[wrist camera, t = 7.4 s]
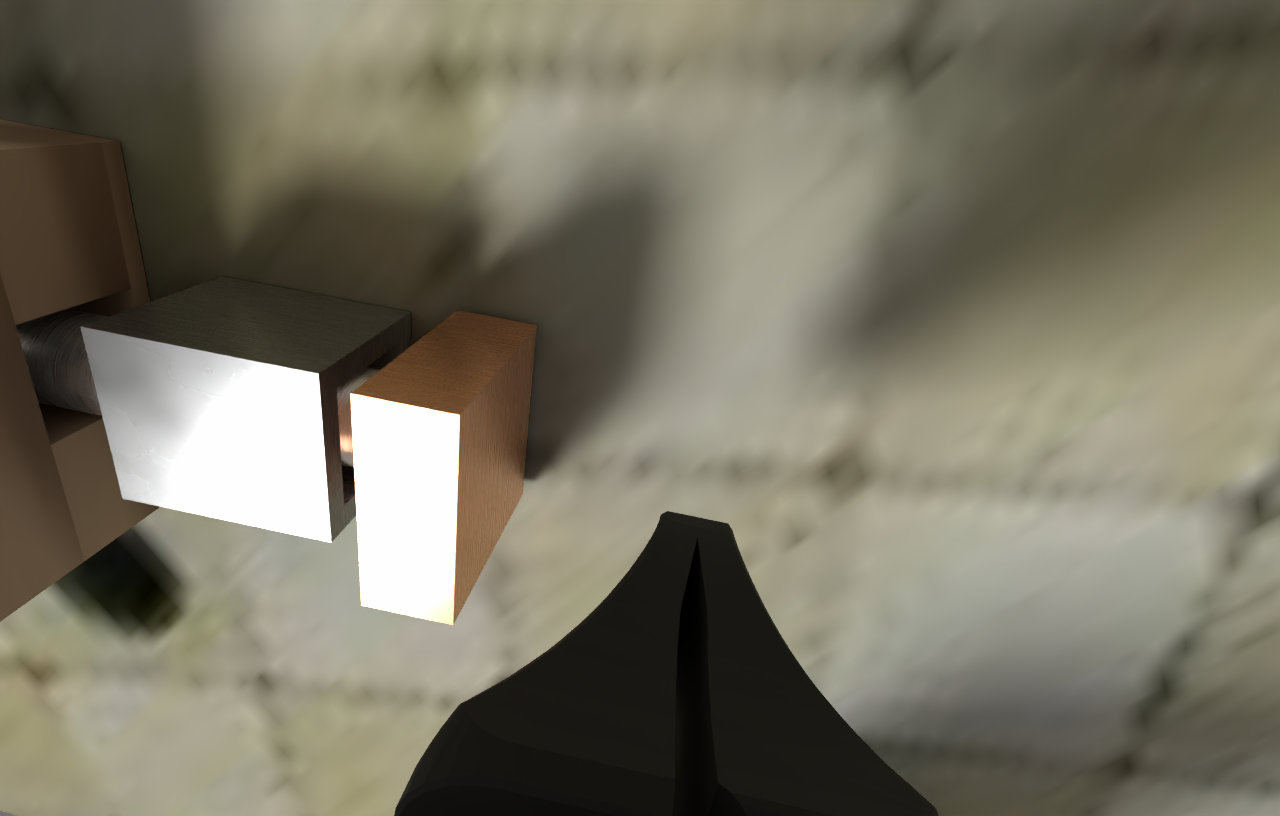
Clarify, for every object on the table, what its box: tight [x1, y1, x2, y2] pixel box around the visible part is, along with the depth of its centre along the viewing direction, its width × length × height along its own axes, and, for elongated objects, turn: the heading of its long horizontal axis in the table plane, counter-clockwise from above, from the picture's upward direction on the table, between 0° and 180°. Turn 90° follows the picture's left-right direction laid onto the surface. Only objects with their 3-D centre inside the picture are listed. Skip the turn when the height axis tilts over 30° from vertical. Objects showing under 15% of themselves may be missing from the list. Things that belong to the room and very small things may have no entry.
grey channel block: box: [81, 276, 411, 542], centre depth 16 cm, size 5×4×4 cm
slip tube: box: [16, 308, 537, 625], centre depth 15 cm, size 16×5×5 cm, turn 81°
